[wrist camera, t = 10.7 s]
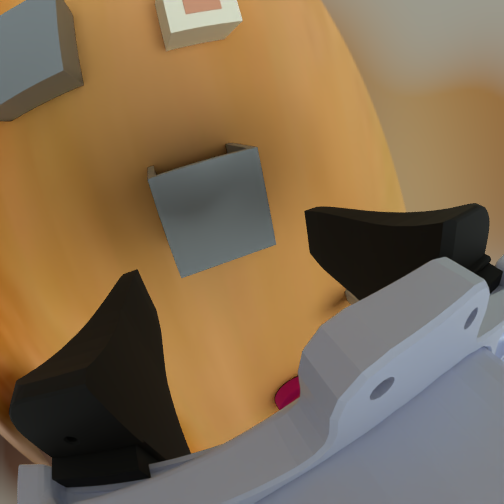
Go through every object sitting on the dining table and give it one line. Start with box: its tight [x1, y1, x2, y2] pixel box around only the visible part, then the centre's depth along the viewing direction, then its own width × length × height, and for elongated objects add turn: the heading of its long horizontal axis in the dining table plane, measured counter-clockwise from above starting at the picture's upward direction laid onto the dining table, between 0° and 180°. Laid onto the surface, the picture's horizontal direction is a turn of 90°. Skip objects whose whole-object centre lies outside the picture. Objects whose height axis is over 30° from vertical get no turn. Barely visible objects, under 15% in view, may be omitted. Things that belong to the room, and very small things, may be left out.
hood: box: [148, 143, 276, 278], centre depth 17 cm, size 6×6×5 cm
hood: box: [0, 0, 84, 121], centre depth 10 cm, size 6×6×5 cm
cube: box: [155, 0, 242, 51], centre depth 12 cm, size 4×4×4 cm
